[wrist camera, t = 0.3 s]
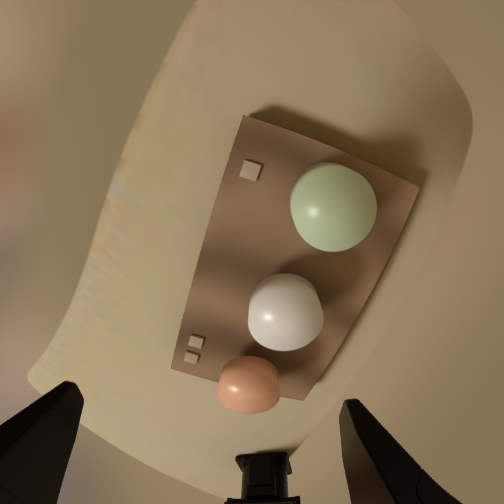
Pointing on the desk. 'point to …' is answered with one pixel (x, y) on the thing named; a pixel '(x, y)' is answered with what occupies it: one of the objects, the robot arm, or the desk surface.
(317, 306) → the grey button
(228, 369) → the terracotta button
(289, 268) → the console
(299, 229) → the sage button
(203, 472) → the desk surface
